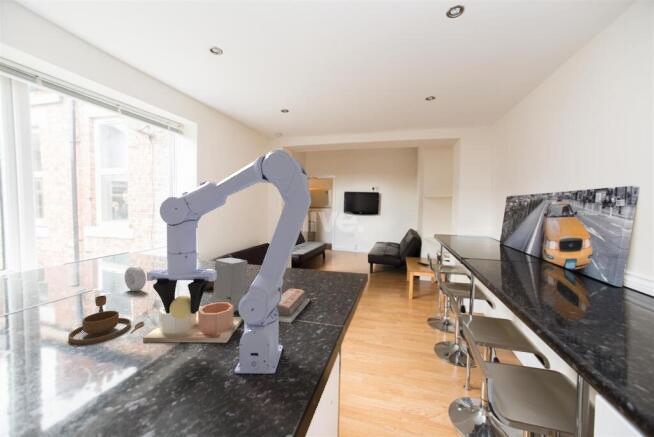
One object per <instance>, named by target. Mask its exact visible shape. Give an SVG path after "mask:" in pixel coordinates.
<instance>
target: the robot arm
mask: <svg viewBox="0 0 654 437" xmlns="http://www.w3.org/2000/svg"><path fill="white" fill-rule="evenodd" d="M258 183H263V184H264V183H265V184H272V185H273V186H274V187H275V188H276V189H277V191H278V192H279V194H280V196H281V198H282V200H283V202H284V205H283V208H282V210H281V213H280V216H279V217H278V221H277V225H276V227H275V229H274V232H273V235H272V238H271V240H270V243H269V246H268V248H267V250H266V254H265V256H264V259H263V262H262V264H261V267H260V270H259V272H258V273H257V275H256V276H255V279H254V280H253V281H252V283H251V284H250V286H249V290H248V292H247V293H246V295H245V296H244V297H242V299H241V300H240V302H239V306H238V310H237V311H238V314H239V317H241V318H242V319H243V332H242V336H241V337H240V341H239V346H238V347H239V352H238V353H239V357H238V358H239V359H238V360H239V361H238V363H237V365H236V366H235V369H234V373H235V374H275V373H276V371H277V367H278V366H279V365H278V364H279V360H280V358H281V355H282V350H283V348H284V346H283V345H282V344H281V345H280V344H279V334H280V333H279V322H280V321H279V313H278V309H277V305H278V304H279V303H280V301H281V298H282V294H283V293H282V288H283V284H284V278H283V277H284V275H285V272H286V270H287V267H288V265H289V261H290V259H291V257H292V254H293V251H294V249H295V246H296V244H297V241H298V239H299V236H300V234H301V230H302V228H303V225H304V222H305V220H306V217H307V215H308V212H309V210H310V207H311V205H312V197H311V196H312V195H311V193H310V192H311V191H310V186H309V181H308V173H307V172H306V169H305V168H304V166H303V164H302V163H301V162H300V161H299V160H297V159H296V158H294V157H292V156H291V154H290V153H288V152H287V151H285V150H283V149H282V150H281V149H275V150H271V151H270V152H268V153H267V154H266V155H265V154H264V155H261V156H259V157H258V158H255V160H254V161H253V162H251V163H249V164H247V165H246V166H244V167H243V168H241V169H240V170H238V171H236V172H235V173H233V174H231V175H230V176H228V177H226V178H224V179H223V180H221V181H219V182H215V181H210V180H209V181H205V180H203V181H202V182H200V183H199V186H198V187H195V188H194V189H192V190H191V191H185V192H182V193H181V194H182V195H181V196H180V197H177V196H168V197H167V198H166V199H165V200H163V202H162V203H161V205H160V208H159V215H160V218H161V219H162V221H163V222H164V223H166V267H167V269H152V270H149V271H147V272H146V282H147V281H148V282H152V281H156V282H155V283H153V284H152V288H153V290H154V291H155V292H156V293H157V295H158V296H159V298H160V300H161V302H162V304H163V307H164V308H165V311H166V314H169V313H170V305H171V303H172V301H173V300H174V299H176V288H177V285H178V281H192V282H190V283H188V284H187V288H188V291H189V297H190V298H191V314H195V313H196V314H197V313H198V311H199V309H200V305H201V301H202V298H203V295H204V293H205V289H206V287H207V285H208V283H209V281H214V280H216V279H217V271H211V270H207V269H201V268H197V267H198V266H197V265H198V264H197V261H198V260H197V258H198V257H197V252H198V251H197V250H198V249H197V229H198V224H199V221H200V220H201V218H202V216H204V215H207V214H208V213H211V212H212V211H214V210H216V209H218V208H220V207H222V206H224V205H225V204H226V203H227V198H228V197H229V196H232V195H233V194H236V193H238V192H240V191H243V190H245V189H247V188H250V187H251V186H254V185H257V184H258Z"/></svg>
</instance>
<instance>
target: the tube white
mask: <svg viewBox="0 0 654 437" xmlns="http://www.w3.org/2000/svg"><path fill="white" fill-rule="evenodd" d="M158 314H159V322H158V323H159V326H158V327H159V329H160V330H161V332H162V333H164V334H176V333H180V332H183V331H186V330H189V329H191V328H192V327H193V326H194V325H195V324H196V323H197V318H196V316H197V312H196V313H195V314H191V315H190V316H189V317H187V318H184V319H176V318H174V317H173V316H172V315H171V314H170V313H169V314H166V311H165V308H164V306H163V307H162V308H160V309H159V310H158Z"/></svg>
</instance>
